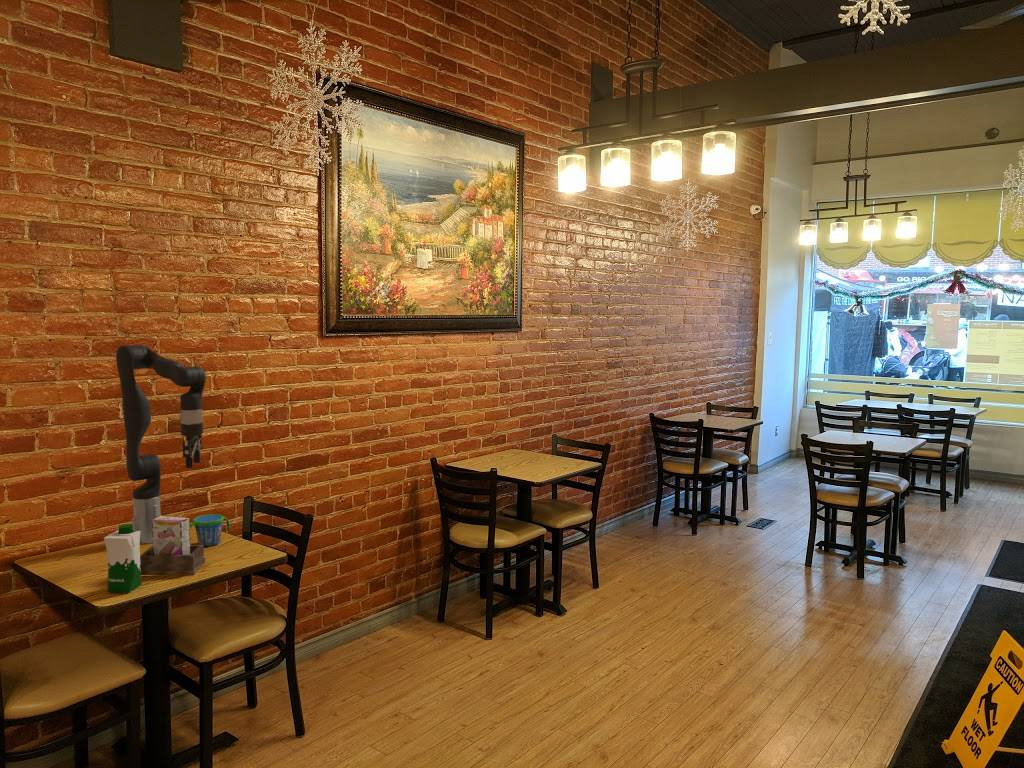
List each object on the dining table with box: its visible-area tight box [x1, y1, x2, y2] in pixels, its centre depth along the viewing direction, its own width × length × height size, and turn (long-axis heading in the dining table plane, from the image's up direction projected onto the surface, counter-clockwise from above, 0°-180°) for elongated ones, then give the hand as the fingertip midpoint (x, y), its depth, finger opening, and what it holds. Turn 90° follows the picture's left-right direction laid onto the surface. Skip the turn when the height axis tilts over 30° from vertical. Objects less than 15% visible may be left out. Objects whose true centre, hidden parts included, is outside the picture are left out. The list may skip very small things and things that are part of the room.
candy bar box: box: [152, 515, 191, 556], centre depth 249 cm, size 11×5×16 cm, turn 81°
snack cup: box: [189, 513, 231, 547], centre depth 276 cm, size 16×10×10 cm
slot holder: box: [140, 544, 206, 576], centre depth 250 cm, size 18×12×6 cm, turn 96°
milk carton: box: [103, 523, 142, 594], centre depth 231 cm, size 9×9×20 cm
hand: (193, 465), depth 266 cm, fingers open, 8 cm apart
